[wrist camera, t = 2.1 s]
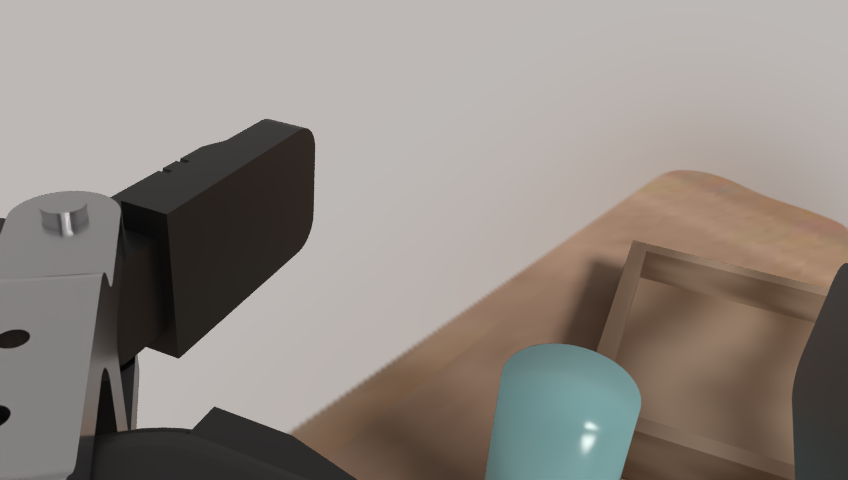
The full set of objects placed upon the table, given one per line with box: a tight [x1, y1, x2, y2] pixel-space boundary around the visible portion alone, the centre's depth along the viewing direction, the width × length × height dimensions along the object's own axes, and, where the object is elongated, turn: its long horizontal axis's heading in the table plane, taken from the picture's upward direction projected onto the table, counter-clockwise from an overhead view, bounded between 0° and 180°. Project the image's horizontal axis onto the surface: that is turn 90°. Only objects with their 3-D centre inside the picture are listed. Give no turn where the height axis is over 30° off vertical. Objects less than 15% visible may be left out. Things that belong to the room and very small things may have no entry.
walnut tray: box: [596, 240, 829, 480], centre depth 41 cm, size 18×18×3 cm
